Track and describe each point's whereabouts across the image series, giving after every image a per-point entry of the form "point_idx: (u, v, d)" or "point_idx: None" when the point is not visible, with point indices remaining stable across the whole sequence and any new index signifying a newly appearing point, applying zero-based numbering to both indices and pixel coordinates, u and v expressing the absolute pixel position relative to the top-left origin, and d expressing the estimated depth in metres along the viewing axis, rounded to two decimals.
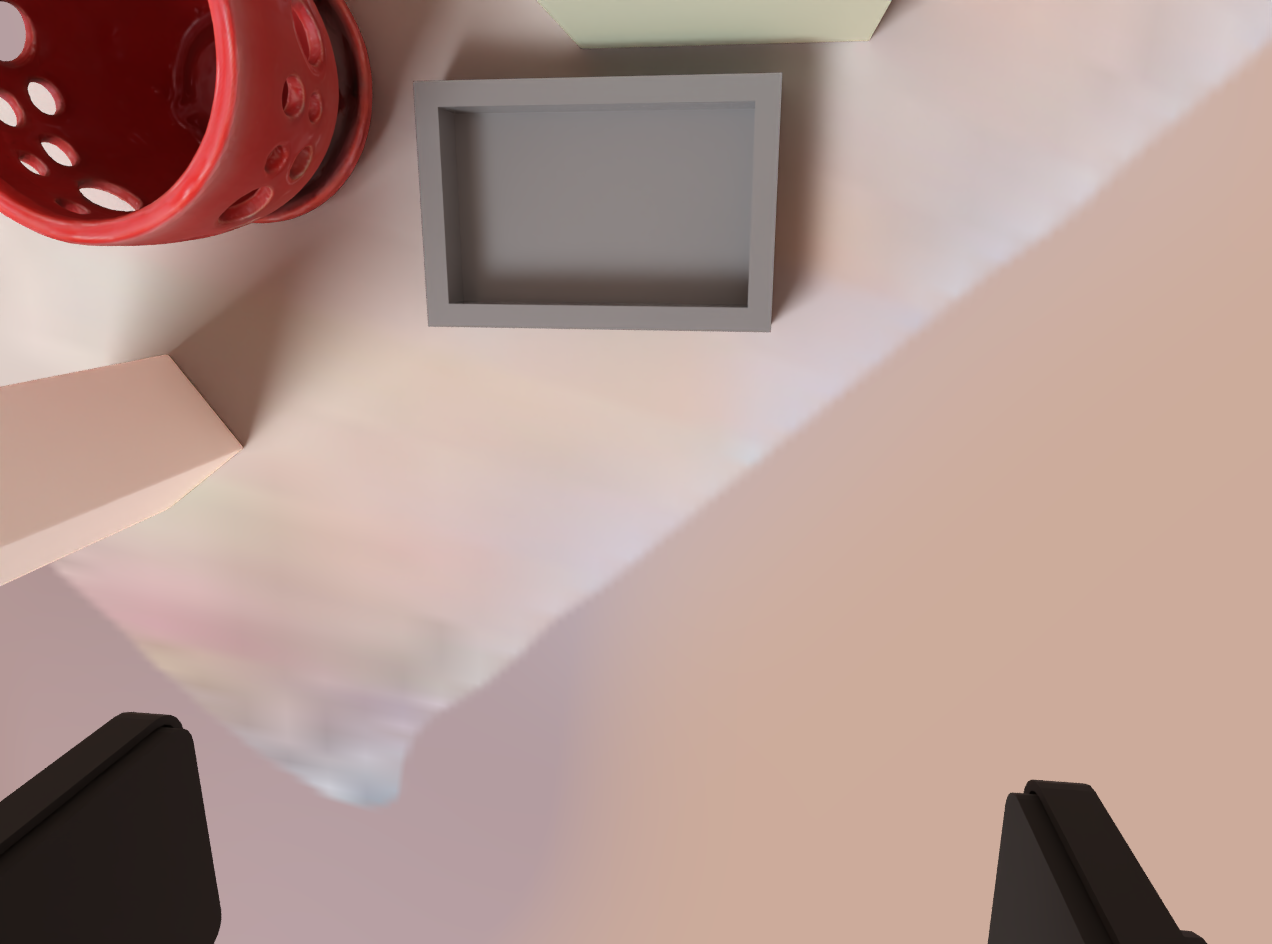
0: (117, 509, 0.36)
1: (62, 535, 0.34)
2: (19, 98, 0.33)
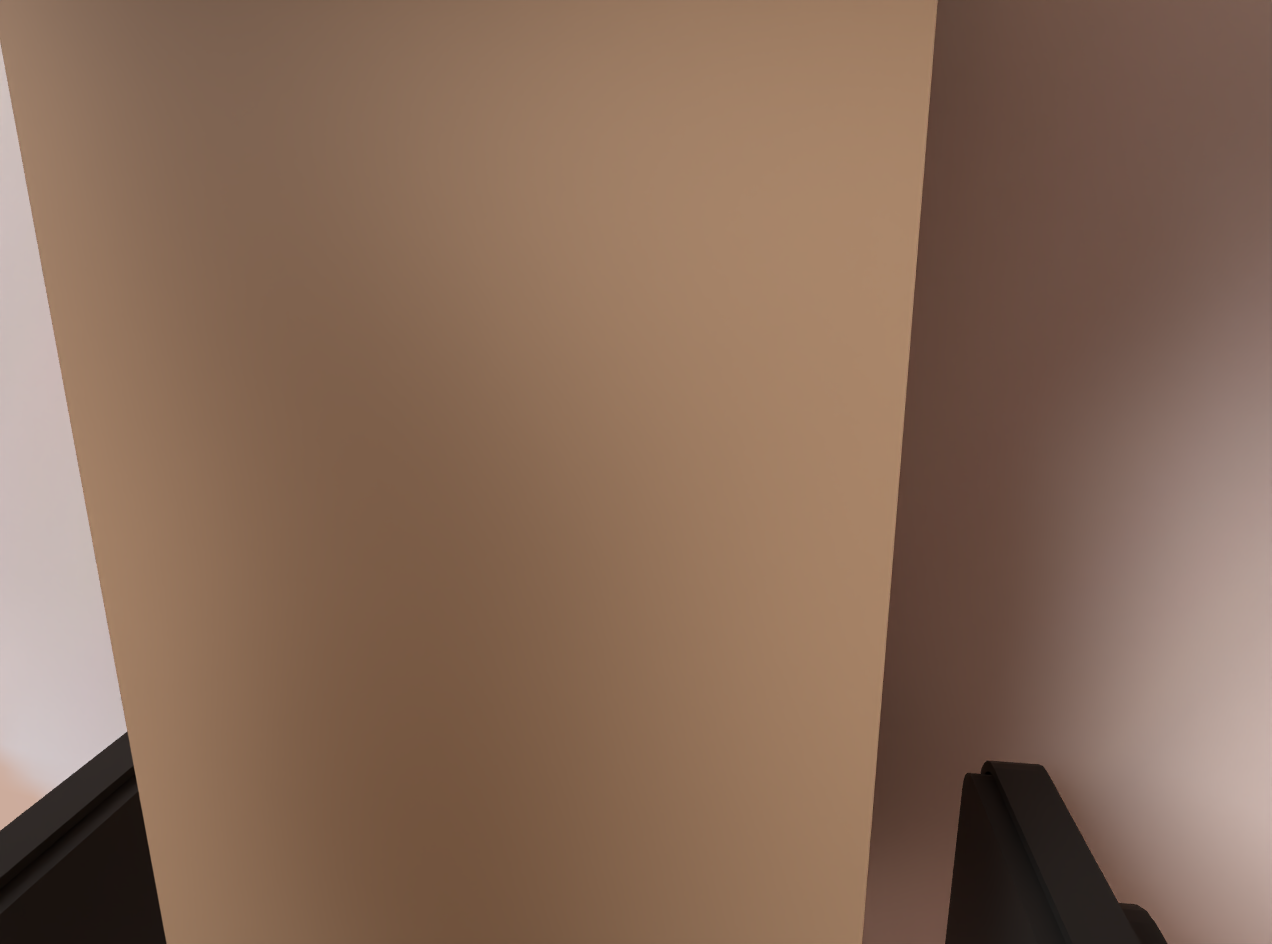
0: None
1: None
2: None
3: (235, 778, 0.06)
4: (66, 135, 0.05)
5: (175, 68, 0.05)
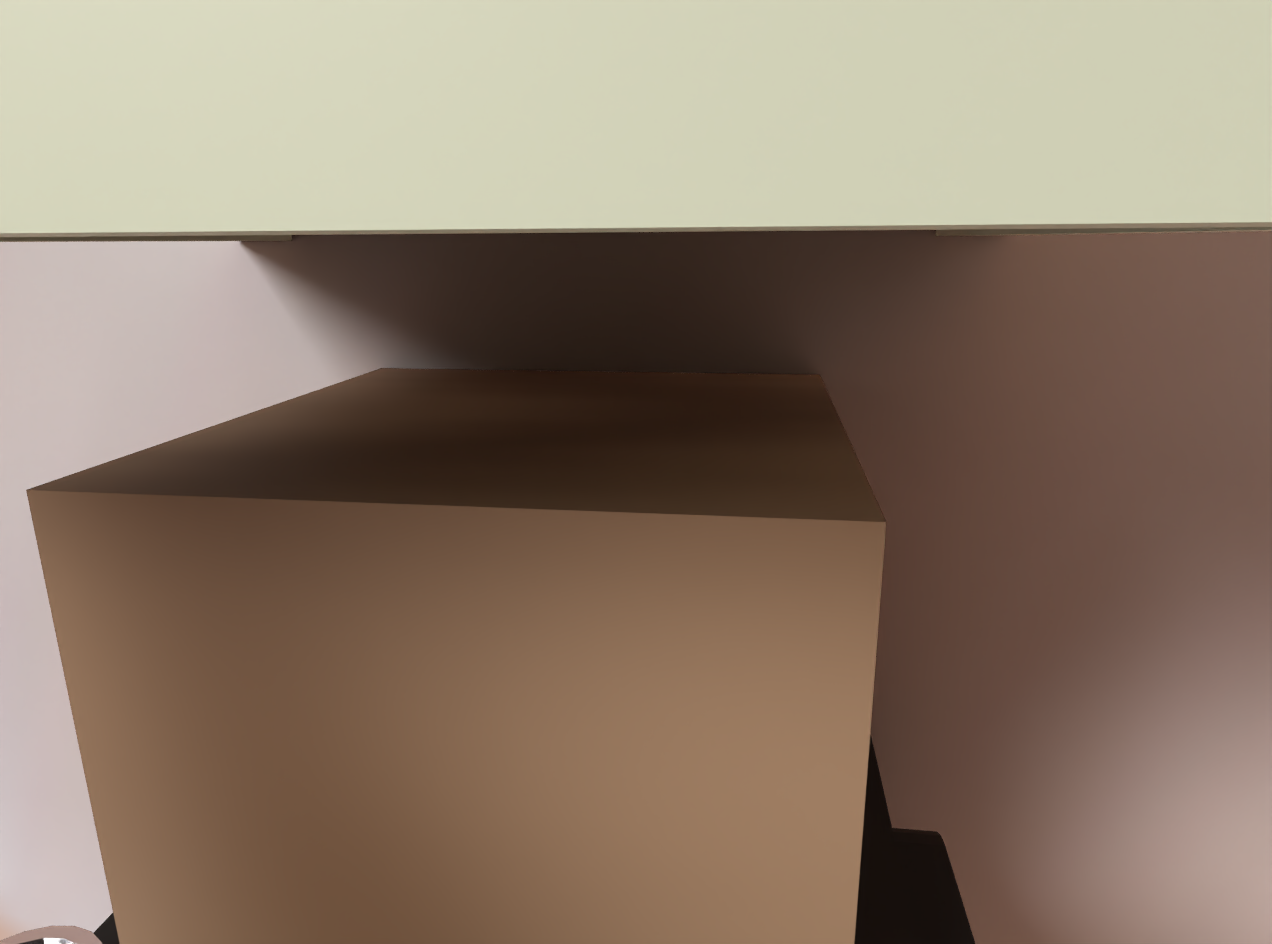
0: None
1: None
2: None
3: None
4: (113, 705, 0.05)
5: (211, 665, 0.05)
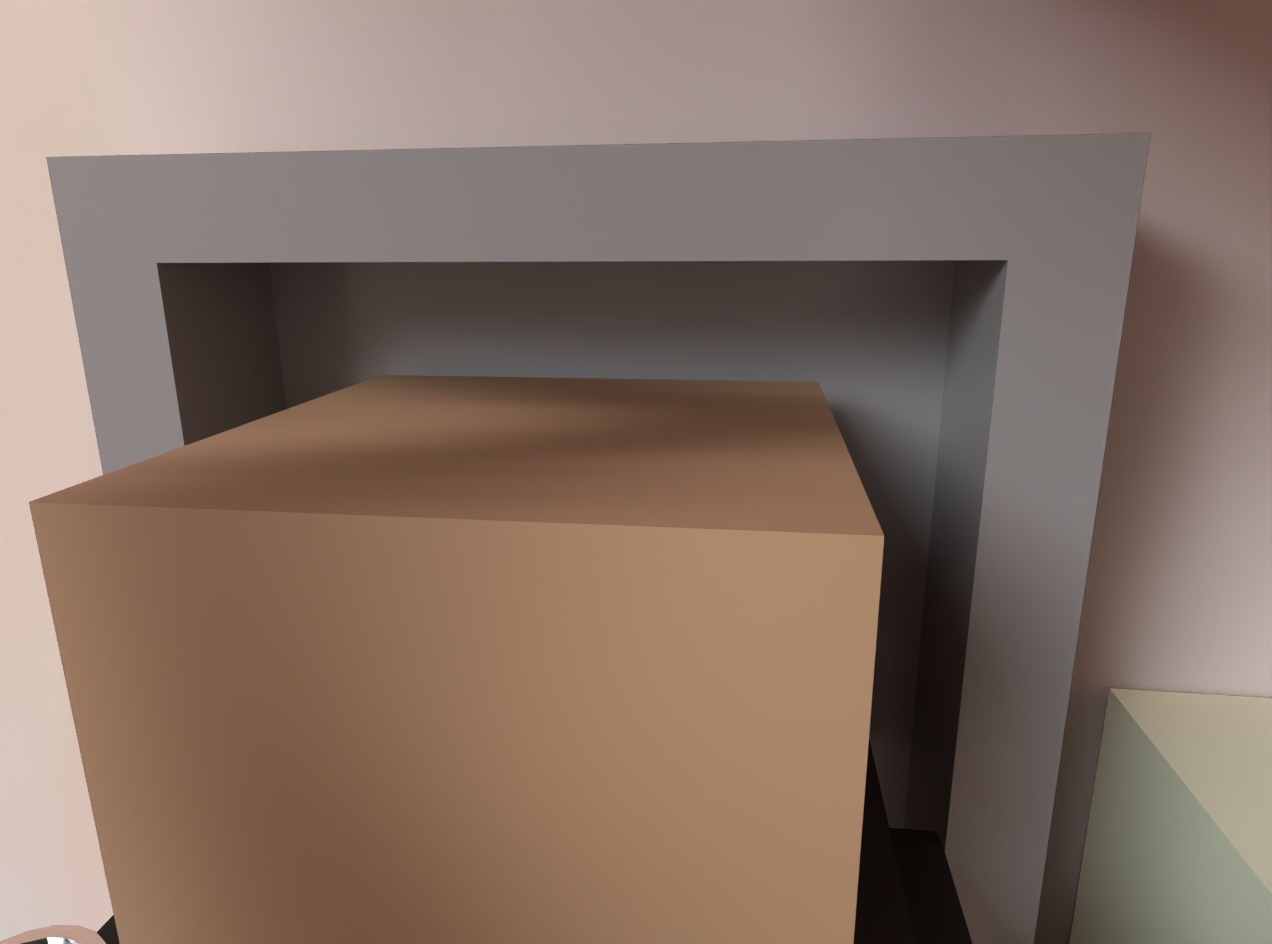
0: None
1: None
2: None
3: None
4: (114, 716, 0.05)
5: (212, 676, 0.05)
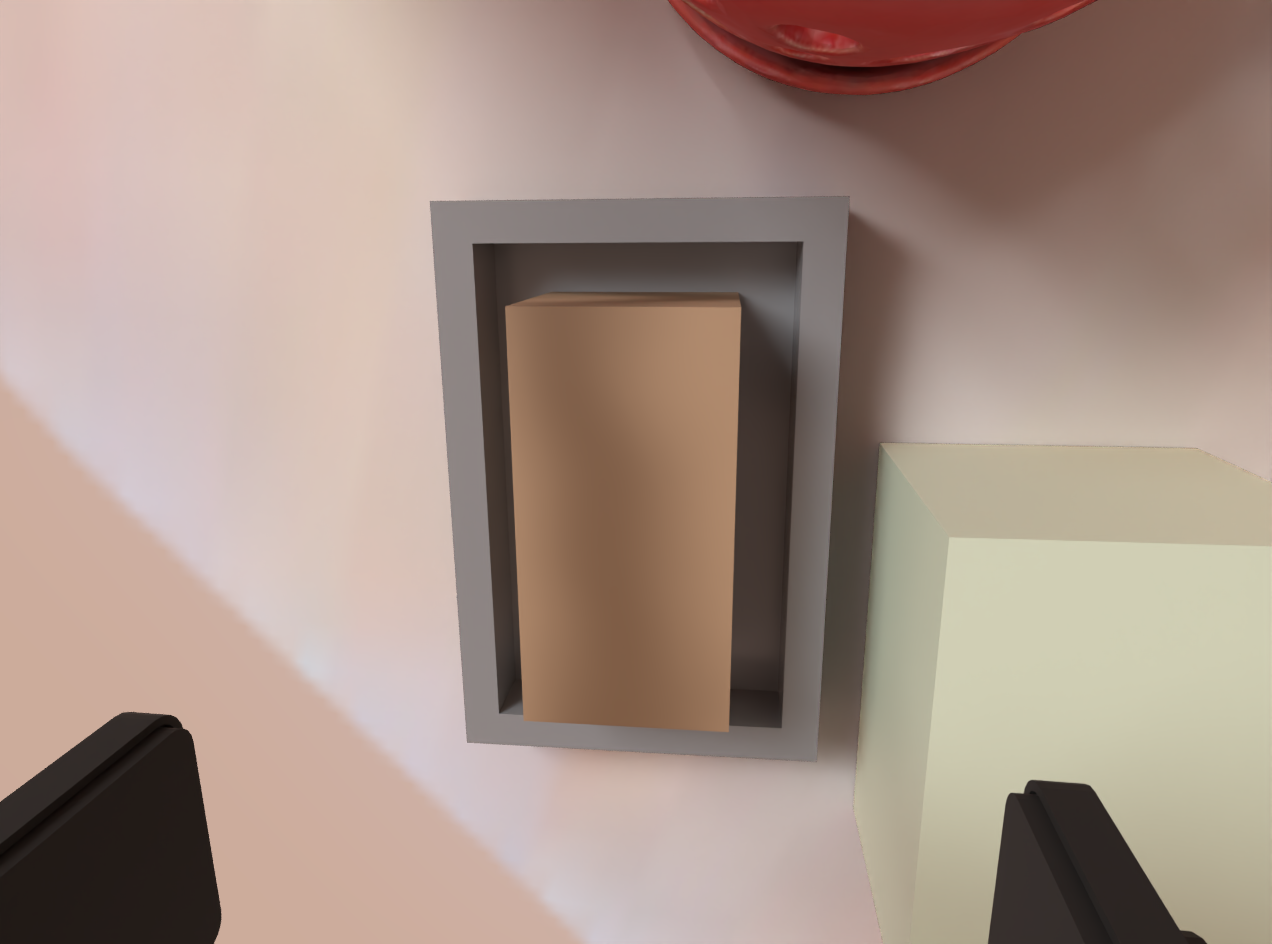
0: None
1: None
2: None
3: (548, 552, 0.19)
4: (521, 373, 0.18)
5: (554, 358, 0.18)
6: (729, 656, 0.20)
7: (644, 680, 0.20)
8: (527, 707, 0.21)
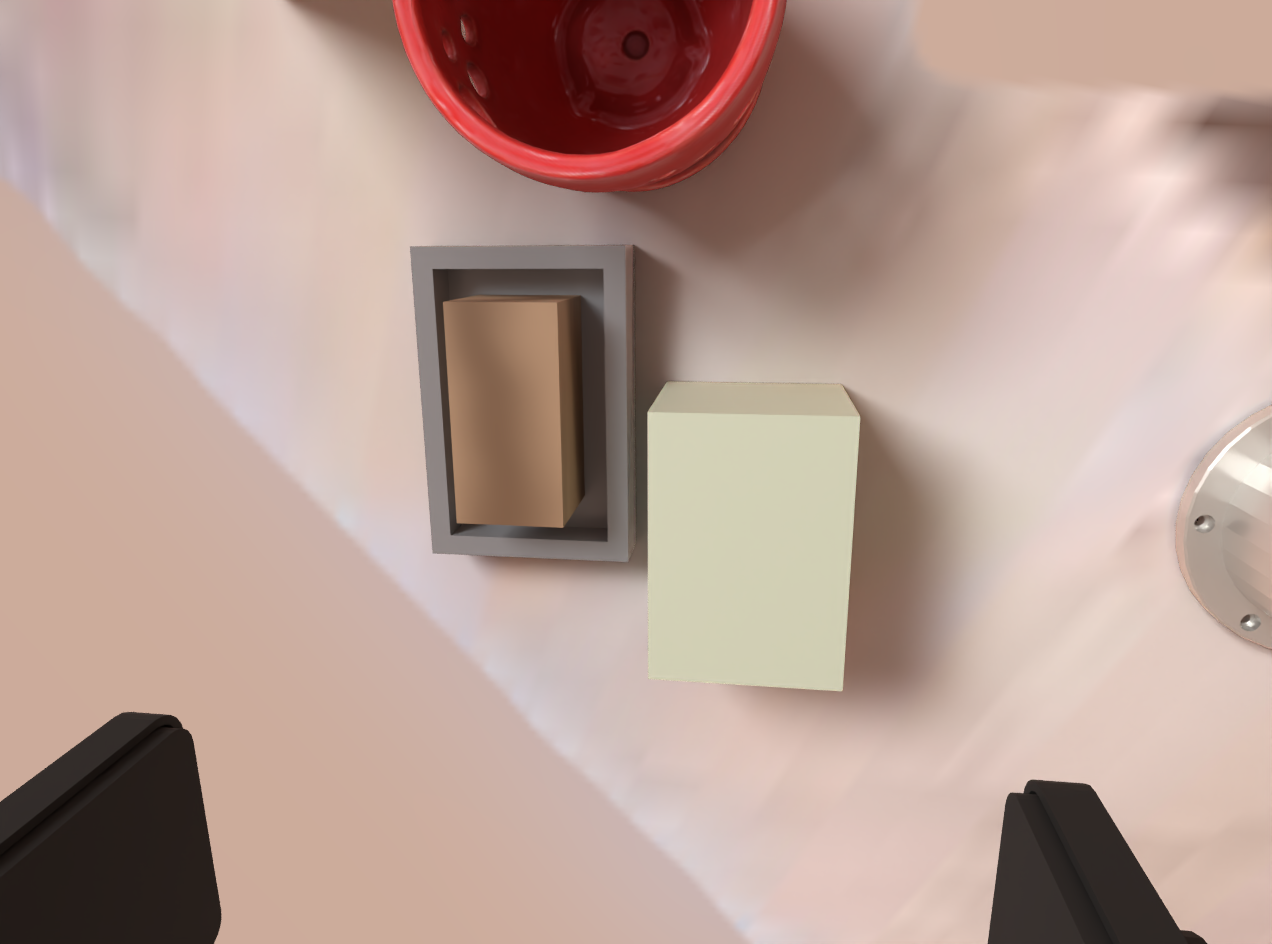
0: None
1: None
2: None
3: (467, 429, 0.38)
4: (451, 335, 0.37)
5: (467, 328, 0.36)
6: (561, 485, 0.38)
7: (518, 499, 0.38)
8: (458, 515, 0.39)
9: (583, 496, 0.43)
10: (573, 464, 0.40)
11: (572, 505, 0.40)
